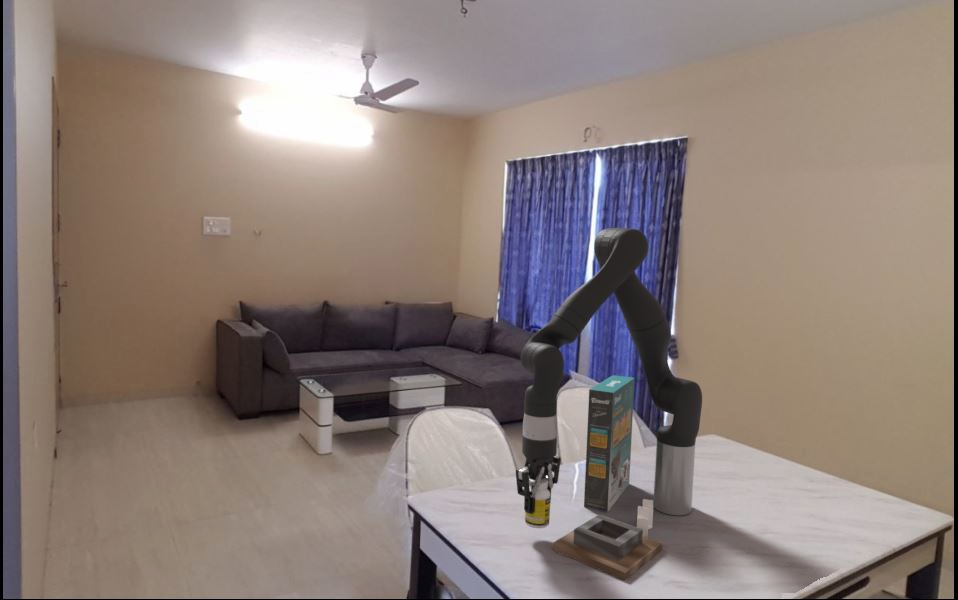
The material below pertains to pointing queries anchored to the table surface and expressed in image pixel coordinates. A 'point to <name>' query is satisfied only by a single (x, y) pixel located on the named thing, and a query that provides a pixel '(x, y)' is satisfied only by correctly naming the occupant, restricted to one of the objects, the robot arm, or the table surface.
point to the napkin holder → (645, 516)
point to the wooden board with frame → (609, 546)
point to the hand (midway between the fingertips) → (537, 508)
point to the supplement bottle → (540, 507)
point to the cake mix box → (608, 441)
